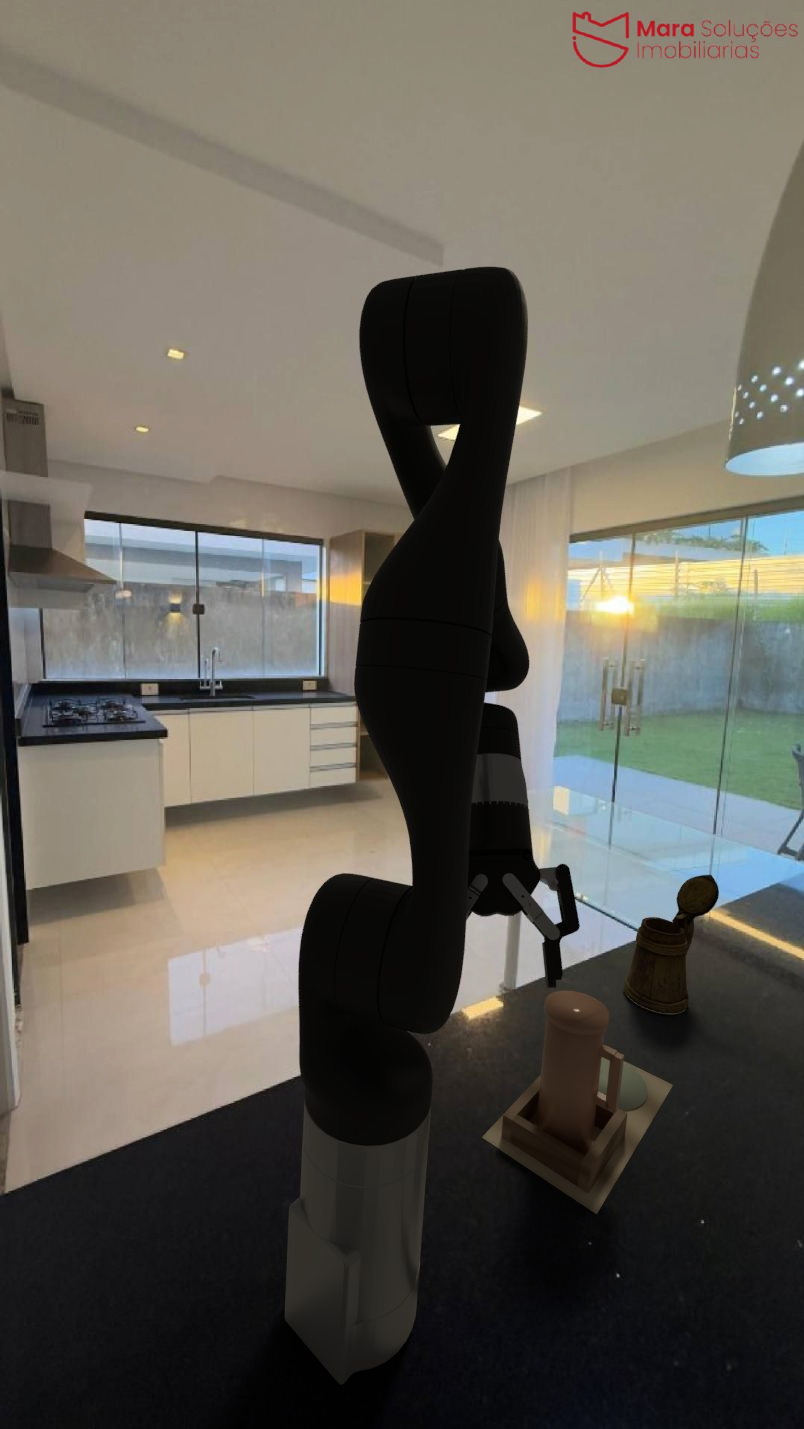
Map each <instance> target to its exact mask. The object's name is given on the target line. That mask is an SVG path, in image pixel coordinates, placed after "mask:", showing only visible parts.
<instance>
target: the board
mask: <svg viewBox="0 0 804 1429" xmlns="http://www.w3.org/2000/svg"><path fill="white" fill-rule="evenodd" d="M609 1066H610V1061H609V1060H607V1059H605V1058H603V1057H602V1059H601V1068H600V1078H599V1087H598V1091H599V1092H601V1093H603V1094H605V1095H606V1093H607V1084H608V1075H609ZM540 1079H541V1074H540V1075H538V1077H537V1078H536V1079H535V1080H534V1081H533V1082H532V1083H531V1084H530V1085H529V1086H528V1087H527V1088H526V1089H525V1090H524V1092H523V1093H522V1094H521V1095H519V1097H518V1098H517V1099H516V1101H515V1102H513V1103H512V1105H511V1106H510V1107H509V1108H508V1109H507V1110H506V1111H505V1112H504V1113H503V1114H502V1115H501V1116H500V1117H499V1119H498V1120H497V1121H496V1122H495V1123H494V1124H493V1125H492V1126H491V1127H490V1128H489V1129H488V1130H487V1131H486V1132H485V1133H484V1135H482V1136H481V1138H482V1139H484V1140H485V1141H486V1142H488V1143H489V1144H491V1145H492V1146H494V1147H495V1148H497V1149H498V1150H499V1151H501V1152H503V1153H505V1154H506V1155H507V1156H508V1157H510V1158H512V1159H513V1160H515V1161H516V1162H518V1163H519V1164H521V1165H522V1166H524V1167H525V1168H527V1169H528V1170H529V1171H531V1172H533V1173H534V1174H535V1175H537V1176H539V1177H540V1178H542V1179H543V1180H544V1181H546V1182H548V1183H549V1184H550V1185H552V1187H553V1186H554V1187H555V1188H556V1189H558V1190H560V1191H561V1192H562V1193H564V1194H565V1195H567V1196H568V1197H569V1198H571V1199H573V1200H575V1201H576V1202H577V1203H579V1204H581V1205H582V1206H583V1207H585V1208H586V1209H588V1210H589V1211H591V1212H592V1213H594V1214H595V1215H597V1214H599V1211H600V1209H601V1208H602V1206H603V1204H604V1202H605V1201H606V1199H607V1198H608V1196H609V1194H610V1193H611V1191H612V1189H613V1188H614V1186H615V1184H616V1183H617V1181H618V1179H619V1177H620V1175H621V1174H622V1173H623V1171H624V1169H625V1167H626V1165H628V1162H629V1160H630V1159H631V1158H632V1156H633V1153H634V1152H635V1150H636V1149H637V1147H638V1145H639V1144H640V1142H641V1140H642V1138H643V1137H644V1135H645V1134H646V1131H648V1129H649V1127H650V1125H651V1123H652V1121H653V1120H654V1118H655V1117H656V1115H657V1113H658V1112H659V1110H660V1108H661V1107H662V1105H663V1104H664V1102H665V1099H666V1098H667V1096H668V1094H669V1093H670V1091H671V1090H672V1088H673V1086H674V1085H673V1084H672V1083H670V1082H668V1081H665V1080H663V1079H662V1078H660V1077H658V1076H655V1075H654V1074H651V1073H649V1072H647V1071H645V1070H643V1069H641V1068H639V1067H637V1066H635V1065H633V1064H631V1063H629V1062H627V1061H625V1060H624V1062H623V1071H622V1080H621V1089H620V1098H619V1106H618V1110H617V1111H616V1113H613V1112H612V1111H610V1110H606V1109H604V1108H602V1107H601V1106H599V1105H596V1115H595V1124H594V1133H593V1143H592V1146H591V1148H590V1149H589V1151H588V1152H587V1154H586V1155H585V1156H584V1155H582V1154H581V1153H579V1152H577V1151H576V1150H574V1149H573V1148H571V1147H569V1146H568V1145H566V1144H564V1143H563V1142H561V1141H560V1140H558V1139H556V1138H555V1137H553V1136H551V1135H550V1134H548V1133H547V1132H545V1131H543V1130H542V1129H540V1128H538V1127H537V1126H536V1122H537V1111H538V1101H539V1090H540Z"/></svg>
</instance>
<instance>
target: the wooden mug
mask: <svg viewBox="0 0 804 1429" xmlns="http://www.w3.org/2000/svg"><path fill="white" fill-rule="evenodd" d="M719 891H720V890H719V885H718V883H717V881H716V879H715V877H714V876H713V875H712V874H701V875H697V876H693V877H690V878H688V879H687V880H686V881H685V882H683V884H682V885H681V887H680V889H679V890H678V892H677V896H676V904H677V905H676V906H677V909H678V910H677V912H676V914H675V916H674V917H673V919H672V920H669V919H665V918H661V917H657V916H649V917H644V918H643V919H642V920H641V924H640V926H639V927H637V928H638V929H637V932H636V936H635V942H636V946H635V949H634V953H633V957H632V959H631V963H630V968H629V971H628V974H627V975H626V977H625V980H624V984H623V986H624V992H625V993H626V995H627V996H629V998H630V999H632V1000H633V1001H634V1002H636V1003H637V1004H638V1005H641V1006H643V1007H645V1008H648V1009H650V1010H654V1011H656V1012H661V1013H679V1012H682V1011H683V1010H685V1009H686V1008H687V1007H688V1005H689V1002H690V1001H689V1000H690V999H689V997H690V996H689V990H688V986H687V985H688V984H687V954H688V953H689V950H690V946H691V945H692V942H693V936H694V931H695V930H694V929H695V920H696V918H698V917H702V916H704V915H706V914H709V913H710V911H712V909H713V908H714V907H715V906H716V904H717V902H718V899H719V896H720V895H719V894H720V892H719ZM624 992H623V993H624ZM625 993H624V994H625ZM626 995H625V996H626ZM689 1006H690V1005H689ZM688 1008H689V1007H688Z"/></svg>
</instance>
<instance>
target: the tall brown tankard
mask: <svg viewBox="0 0 804 1429" xmlns="http://www.w3.org/2000/svg"><path fill="white" fill-rule="evenodd" d="M543 1006H544V1007H543V1012H544V1015H545V1017H546V1018H545V1029H544V1040H543V1050H542V1060H541V1061H542V1062H541V1070H540V1071H541V1072H540V1075H541V1079H540V1090H539V1101H538V1111H537V1122H536V1126H537V1127H538V1128H540V1129H542V1130H543V1131H545V1132H547V1133H548V1134H550V1135H551V1136H553V1137H555V1138H556V1139H558V1140H560V1141H561V1142H563V1143H564V1144H566V1145H568V1146H569V1147H571V1148H573V1149H574V1150H576V1151H577V1152H579V1153H581V1154H582V1155H584V1156H585V1155H586V1154H587V1152H588V1151H589V1149H590V1148H591V1146H592V1143H593V1133H594V1124H595V1115H596V1105H599V1106H601V1107H602V1108H604V1109H606V1110H610V1111H612V1112H613V1113H616V1111H617V1110H618V1106H619V1098H620V1089H621V1080H622V1071H623V1062H624V1061H625V1054H622V1053H621V1052H618V1050H616V1049H614V1048H612V1047H610V1046H608V1045H606V1044H604V1039H605V1032H606V1031H607V1029H608V1028H609V1025H610V1024H609V1023H610V1012H609V1009H607V1007H606V1005H604V1003H602V1002H601V1001H600V1000H598V999H596V998H594V997H593V996H591V995H588V994H586V993H584V992H579V991H575V990H574V991H573V990H558V991H554V992H551V993H550V994H548V995H547V996H546V997H545V1000H544V1005H543ZM602 1057H603V1058H605V1059H607V1060H609V1061H610V1066H609V1075H608V1084H607V1093H606V1095H605V1094H603V1093H601V1092H599V1091H598V1087H599V1078H600V1068H601V1059H602Z"/></svg>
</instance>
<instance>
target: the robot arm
mask: <svg viewBox="0 0 804 1429" xmlns="http://www.w3.org/2000/svg"><path fill="white" fill-rule="evenodd" d="M366 295H367V296H366V297H365V300H364V302H363V307H362V310H361V315H360V321H359V330H358V331H359V332H358V333H359V334H358V337H359V338H358V339H359V340H358V341H359V342H358V343H359V344H358V345H359V355H360V356H359V357H360V365H361V371H362V377H363V381H364V385H365V389H366V393H367V396H368V399H369V403H370V406H371V409H372V411H373V416H374V418H375V422H376V423H377V424H376V425H377V427H378V429H379V432H380V434H381V437H382V439H383V443H384V445H385V448H386V450H387V454H388V456H389V458H390V461H391V464H392V467H393V470H394V473H395V476H396V477H397V481H398V484H399V485H400V488H401V491H402V493H403V496H404V498H405V501H406V503H407V505H408V508H409V511H410V513H411V516H412V518H413V521H412V522H411V524H410V525H409V527H408V528H407V529H406V530H405V532H404V533H403V534H402V536H401V537H400V538H399V540H398V541H397V542H396V544H395V545H394V546H393V548H392V549H391V550H390V552H389V553H388V555H387V556H386V558H385V559H384V561H383V562H382V563H381V565H380V566H379V568H378V569H377V571H376V573H375V574H374V576H373V578H372V580H371V581H370V584H369V586H368V587H367V590H366V592H365V595H364V597H363V599H362V600H363V602H362V603H361V604H362V605H361V610H360V616H359V617H360V619H359V620H360V621H359V629H358V638H357V646H356V647H357V648H356V657H355V668H354V681H353V688H354V692H353V693H354V696H355V701H356V705H357V708H358V712H359V715H360V717H361V720H362V723H363V724H364V728H365V729H366V732H367V735H368V736H369V739H370V741H371V743H372V745H373V747H374V750H375V751H376V753H377V755H378V758H379V759H380V761H381V763H382V766H383V767H384V770H385V772H386V774H387V776H388V779H389V780H390V783H391V784H392V788H393V789H394V792H395V794H396V796H397V799H398V802H399V804H400V807H401V810H402V814H403V817H404V821H405V825H406V828H407V834H408V838H409V840H408V841H409V847H410V858H411V878H412V879H411V883H412V884H411V885H410V884H404V883H402V882H401V883H400V882H395V881H391V880H386V879H380V878H376V877H372V876H367V875H363V874H357V873H351V872H350V873H349V872H348V873H345V872H342V873H337V874H335V875H332V876H331V877H329V878H328V879H326V881H324V882H323V883H322V884H321V886H320V887H319V889H318V890H317V891H316V892H315V894H314V896H313V898H312V900H311V902H310V904H309V907H308V909H307V911H306V915H305V919H304V923H303V927H302V931H301V936H300V941H299V942H300V943H299V954H298V967H297V968H298V972H297V973H298V976H297V977H298V981H297V982H298V983H297V984H298V985H297V986H298V989H297V990H298V992H297V994H298V1024H299V1026H298V1027H299V1029H298V1034H299V1037H298V1040H299V1042H298V1043H299V1047H298V1049H299V1050H298V1059H299V1060H298V1062H299V1063H298V1064H299V1072H300V1077H301V1080H302V1082H303V1085H304V1086H303V1087H304V1101H303V1102H304V1103H303V1104H304V1105H303V1126H302V1148H301V1165H300V1166H301V1168H300V1190H299V1191H300V1192H299V1193H300V1195H299V1197H298V1198H297V1199H295V1200H294V1201H293V1202H292V1203H291V1204H290V1205H289V1210H288V1223H287V1224H288V1226H287V1227H288V1228H287V1229H288V1230H287V1247H286V1248H287V1251H286V1252H287V1253H286V1255H287V1256H286V1275H285V1276H286V1277H285V1298H284V1300H285V1301H284V1303H285V1304H284V1320H285V1322H286V1323H287V1324H288V1325H289V1327H290V1328H291V1330H293V1331H294V1333H295V1334H296V1335H297V1336H298V1338H299V1339H300V1340H301V1341H302V1342H303V1343H304V1345H305V1346H306V1347H307V1348H308V1349H309V1350H310V1352H311V1353H312V1354H313V1355H314V1356H315V1358H316V1359H317V1360H318V1361H319V1362H320V1363H321V1365H322V1366H323V1367H324V1368H325V1369H326V1371H328V1374H330V1375H331V1376H332V1378H333V1379H334V1380H335V1381H336V1382H337V1383H338V1385H344V1384H345V1383H346V1382H347V1380H348V1379H349V1378H350V1377H352V1376H353V1375H354V1373H357V1372H360V1371H365V1370H371V1369H375V1368H377V1367H378V1366H380V1365H382V1364H385V1363H386V1362H388V1361H389V1360H390V1359H392V1358H393V1357H394V1356H395V1355H396V1354H397V1353H398V1352H399V1351H400V1350H401V1349H402V1347H403V1346H404V1345H405V1343H406V1342H407V1340H408V1339H409V1336H410V1335H411V1332H412V1330H413V1329H414V1328H413V1327H414V1323H415V1320H416V1316H417V1307H418V1306H417V1305H418V1304H417V1303H418V1295H419V1294H418V1293H419V1292H418V1291H419V1281H420V1280H419V1278H420V1265H421V1253H422V1252H421V1251H422V1236H423V1235H422V1234H423V1224H424V1223H423V1220H424V1208H425V1192H426V1180H427V1179H426V1178H427V1163H428V1151H429V1150H428V1149H429V1139H430V1126H431V1125H430V1124H431V1113H432V1111H431V1110H432V1098H433V1097H432V1096H433V1084H434V1079H433V1077H434V1076H433V1066H432V1063H431V1060H430V1057H429V1055H428V1053H427V1051H426V1049H425V1048H424V1047H423V1045H422V1044H421V1042H419V1040H418V1039H417V1038H416V1037H415V1036H413V1034H411V1033H414V1034H421V1035H428V1034H429V1035H430V1034H433V1033H436V1032H439V1030H440V1029H442V1028H443V1026H445V1024H446V1023H447V1021H448V1020H449V1019H450V1016H451V1014H452V1012H453V1010H454V1008H455V1005H456V1001H457V998H458V994H459V989H460V985H461V980H462V975H463V968H464V967H463V966H464V959H465V952H466V951H465V950H466V949H465V947H466V933H467V932H466V931H467V920H468V919H469V918H470V917H471V915H472V913H473V914H475V915H477V916H479V917H480V918H481V917H485V918H486V917H491V916H494V915H500V916H504V917H514V916H515V915H518V914H519V913H520V912H521V913H522V914H523V915H524V916H525V918H526V919H527V920H528V921H529V922H530V923H532V924H533V925H534V927H535V929H537V931H538V932H539V933H540V934H541V935H542V937H543V942H542V943H541V946H542V947H541V948H542V956H543V957H542V958H543V969H544V978H545V986H546V988H547V989H553V988H554V989H556V988H557V981H562V978H563V975H564V972H563V971H564V970H563V962H562V952H561V940H562V939H563V938H564V937H566V936H569V935H572V934H574V933H575V932H578V931H579V929H580V927H581V926H580V920H579V914H578V908H577V903H576V897H575V892H574V886H573V882H572V880H573V879H572V875H571V868H570V867H569V866H568V865H567V864H566V863H559V864H558V865H557V866H553V867H551V866H550V867H541V868H539V867H538V865H537V863H536V862H535V859H534V852H533V841H532V832H531V820H530V819H531V818H530V810H529V809H530V808H529V799H528V789H527V781H526V777H525V773H524V769H523V763H522V752H521V741H520V740H521V739H520V733H519V732H520V731H519V724H518V719H517V716H516V714H515V712H514V711H513V710H512V709H511V708H509V707H507V706H504V705H501V704H497V703H490V702H485V698H486V693H496V692H497V693H498V692H499V693H500V692H506V691H511V690H514V689H517V688H518V687H519V686H520V685H521V684H523V683H524V681H525V680H526V678H527V676H528V674H529V671H530V656H529V650H528V647H527V644H526V642H525V639H524V637H523V635H522V633H521V631H520V629H519V626H518V625H517V623H516V622H515V619H514V617H513V615H512V612H511V610H510V606H509V600H508V592H507V590H508V589H507V579H506V566H505V564H506V563H505V557H504V552H503V547H502V544H501V541H500V531H501V525H502V513H503V507H504V500H505V499H504V498H505V493H506V486H507V479H508V475H509V468H510V462H511V455H512V451H513V450H512V449H513V444H514V439H515V433H516V427H517V421H518V415H519V408H520V405H521V404H520V403H521V396H522V393H523V392H522V390H523V385H524V377H525V369H526V363H527V362H526V361H527V353H528V339H529V338H528V337H529V336H528V334H529V333H528V331H529V328H528V327H529V315H528V314H529V313H528V303H527V298H526V293H525V291H524V288H523V284H522V282H521V280H520V278H519V277H518V275H517V274H515V272H514V271H512V270H511V269H509V268H506V267H502V266H501V267H500V266H476V267H468V268H463V269H462V268H461V269H454V270H453V269H452V270H446V271H441V272H431V273H424V274H420V275H419V274H417V275H410V276H404V277H398V278H392V279H389V280H383V281H381V282H379V283H377V284H376V285H375V286H374V287H372V288H371V289H370V291H369V292H368V294H366ZM451 425H452V426H455V425H459V427H458V428H457V429H458V430H457V433H456V437H455V440H454V442H453V443H454V444H453V446H452V449H451V452H450V456H449V458H448V462H447V463H446V461H445V460H444V458H443V456H442V454H441V452H440V450H439V448H438V445H437V443H436V440H435V437H434V435H433V431H432V427H433V426H434V427H435V426H436V427H437V426H451ZM540 881H544V882H545V883H546V884H547V886H548V888H549V890H550V891H553V892H556V896H557V901H558V902H557V903H558V906H559V907H558V909H559V914H560V918H561V921H559V922H557V923H554V922H553V921H552V920H551V919H550V917H549V916H548V915H547V914H546V912H545V911H544V909H543V908H542V907H541V906H540V905H539V903H538V902H537V901H536V900H535V898H534V897H533V896H532V895H533V893H534V891H535V889H536V887H538V885H539V883H540Z"/></svg>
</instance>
